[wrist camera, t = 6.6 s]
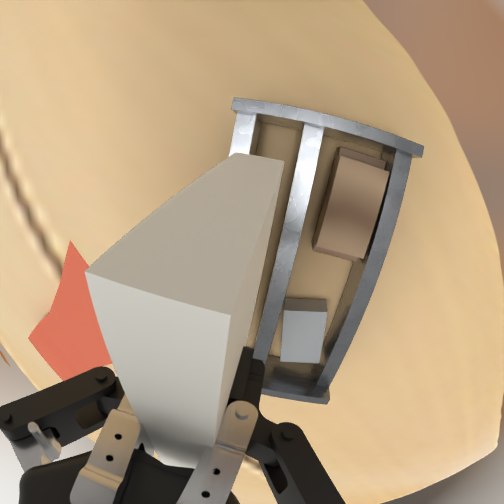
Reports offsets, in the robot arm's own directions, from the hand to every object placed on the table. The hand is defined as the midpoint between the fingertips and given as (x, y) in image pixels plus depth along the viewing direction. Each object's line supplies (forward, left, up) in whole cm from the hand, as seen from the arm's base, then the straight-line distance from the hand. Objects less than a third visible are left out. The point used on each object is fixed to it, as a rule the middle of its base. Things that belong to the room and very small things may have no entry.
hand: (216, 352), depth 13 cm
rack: (0, +4, -16) cm, 17 cm away
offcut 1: (+8, +7, -16) cm, 19 cm away
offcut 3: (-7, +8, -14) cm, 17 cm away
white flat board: (-1, 0, -5) cm, 5 cm away
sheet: (+20, -25, -17) cm, 36 cm away
